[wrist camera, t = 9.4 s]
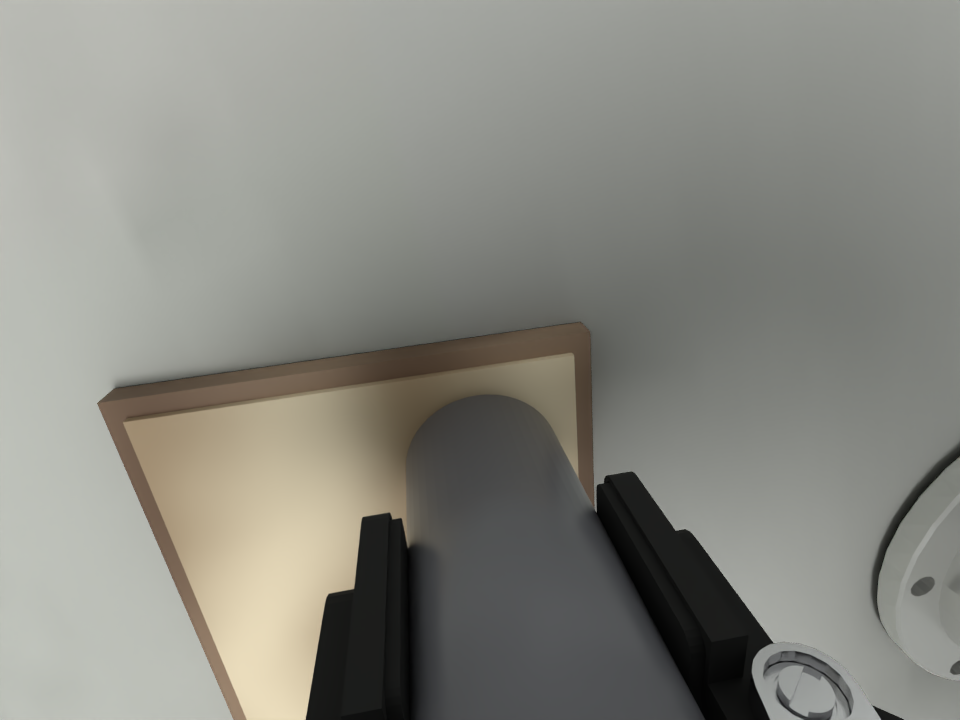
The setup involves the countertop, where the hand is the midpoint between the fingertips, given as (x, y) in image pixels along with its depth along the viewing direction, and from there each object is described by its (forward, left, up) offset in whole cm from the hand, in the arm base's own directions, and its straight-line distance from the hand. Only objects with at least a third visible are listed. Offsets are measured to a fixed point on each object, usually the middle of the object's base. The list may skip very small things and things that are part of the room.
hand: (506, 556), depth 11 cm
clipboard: (+3, +5, -5) cm, 7 cm away
